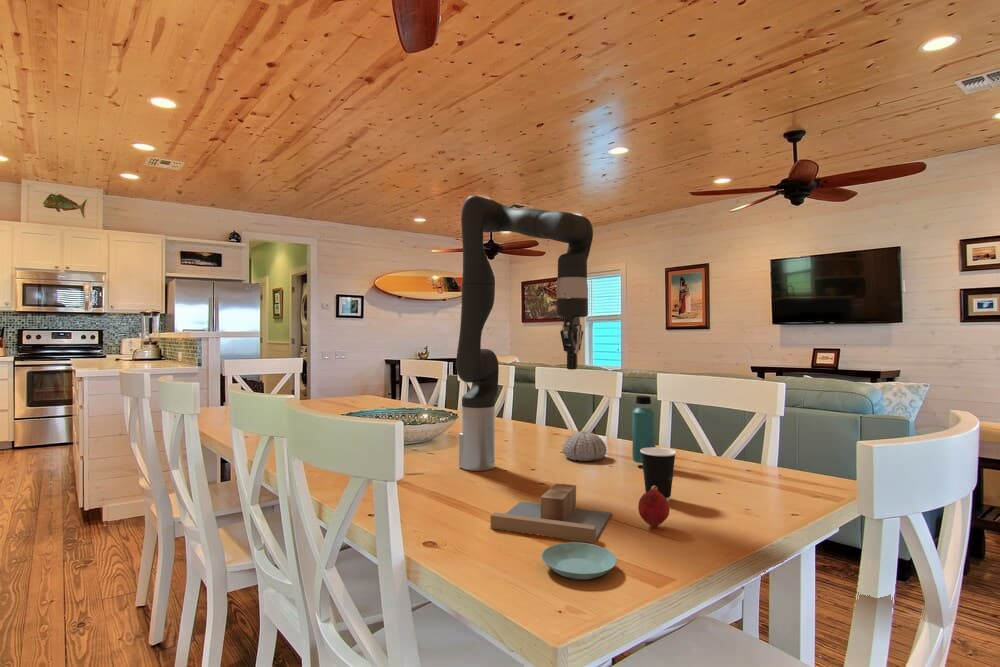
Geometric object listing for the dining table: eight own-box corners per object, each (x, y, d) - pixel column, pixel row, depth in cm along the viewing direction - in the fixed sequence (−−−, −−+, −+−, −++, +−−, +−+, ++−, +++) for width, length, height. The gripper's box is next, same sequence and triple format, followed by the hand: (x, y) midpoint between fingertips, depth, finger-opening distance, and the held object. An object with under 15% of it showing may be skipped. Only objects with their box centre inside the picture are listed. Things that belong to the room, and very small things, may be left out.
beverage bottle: (658, 469, 152) (658, 397, 152) (634, 469, 152) (634, 397, 152) (652, 463, 158) (652, 394, 158) (629, 463, 158) (629, 394, 158)
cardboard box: (555, 503, 119) (540, 519, 109) (555, 483, 119) (540, 497, 109) (576, 506, 117) (562, 522, 107) (576, 485, 117) (562, 499, 107)
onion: (664, 534, 102) (664, 491, 102) (634, 529, 105) (634, 487, 105) (672, 525, 107) (672, 484, 107) (643, 520, 110) (643, 480, 110)
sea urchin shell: (561, 462, 160) (561, 435, 160) (563, 452, 173) (563, 427, 173) (607, 464, 158) (607, 436, 158) (606, 454, 171) (606, 428, 171)
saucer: (626, 586, 81) (626, 571, 81) (548, 589, 80) (548, 573, 80) (604, 554, 93) (604, 541, 93) (536, 556, 92) (536, 543, 92)
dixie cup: (634, 495, 127) (634, 447, 127) (666, 493, 128) (666, 446, 128) (649, 505, 119) (649, 455, 119) (683, 503, 120) (683, 454, 120)
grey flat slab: (490, 528, 105) (490, 515, 105) (520, 503, 121) (520, 491, 121) (593, 543, 97) (593, 529, 97) (611, 514, 113) (611, 502, 113)
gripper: (564, 299, 139) (564, 367, 139) (549, 295, 126) (549, 370, 126) (593, 298, 136) (593, 368, 136) (581, 295, 124) (581, 371, 124)
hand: (572, 369), depth 131 cm, fingers closed
